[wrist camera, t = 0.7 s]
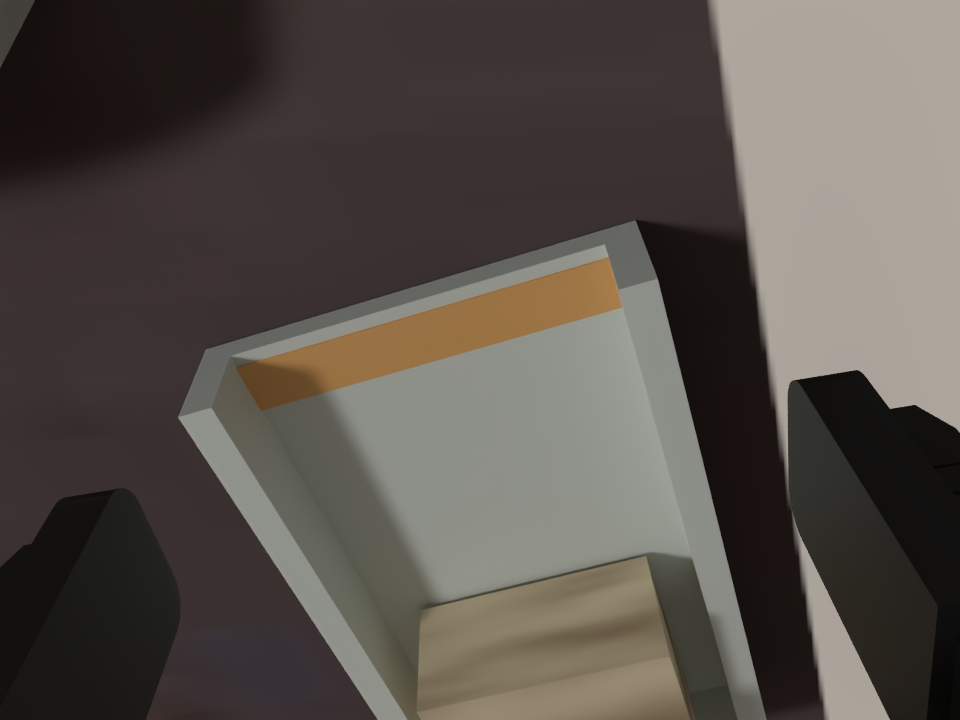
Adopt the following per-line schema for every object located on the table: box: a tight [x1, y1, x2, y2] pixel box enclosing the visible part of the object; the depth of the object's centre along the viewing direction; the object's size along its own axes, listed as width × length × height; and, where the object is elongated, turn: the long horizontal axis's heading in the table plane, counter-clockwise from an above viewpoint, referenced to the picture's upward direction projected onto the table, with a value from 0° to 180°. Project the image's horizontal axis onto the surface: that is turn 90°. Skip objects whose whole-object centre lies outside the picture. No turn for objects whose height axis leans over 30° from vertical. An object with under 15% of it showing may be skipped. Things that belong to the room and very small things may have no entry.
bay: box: [178, 220, 766, 720], centre depth 36 cm, size 26×16×6 cm, turn 18°
